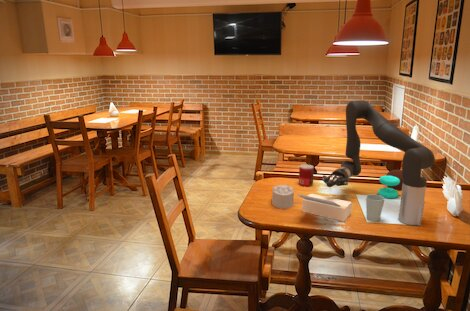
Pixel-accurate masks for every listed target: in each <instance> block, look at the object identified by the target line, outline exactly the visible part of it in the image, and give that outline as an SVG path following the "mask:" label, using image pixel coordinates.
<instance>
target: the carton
mask: <svg viewBox="0 0 470 311" xmlns="http://www.w3.org/2000/svg"><path fill="white" fill-rule="evenodd" d="M307 196H309V197H314V198H319V199H323V200H328V201H333V202H335V203H336V204H338V205H340V207H337V206H333V205H328V204H324V203H319V202H315V201H310V200H306V199H304V198H302V201H301V202H302V204H301V206H302V208H301V212H302V213H303V212H304V213H306V214H311V215H316V216H320V217H324V218H329V219H332V220H336V221H341V222H345V221H346V220H347V218H349V216H351V213H352V202H351V201H347V200H343V199H338V198H333V197H329V196H326V195H325V196H324V195H319V194H315V193H309V194H308V195H307Z"/></svg>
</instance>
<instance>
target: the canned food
mask: <svg viewBox="0 0 470 311" xmlns="http://www.w3.org/2000/svg"><path fill="white" fill-rule="evenodd" d="M314 168H315V167H314V165H311V164H300V165H299V170H298V171H299V172H298V184H299V186H301V187H304V186H305V187H306V188H307V187H308V188H309V187H312V186H313V183H314V170H315V169H314Z"/></svg>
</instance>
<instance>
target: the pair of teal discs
mask: <svg viewBox="0 0 470 311" xmlns="http://www.w3.org/2000/svg"><path fill="white" fill-rule="evenodd" d="M378 181H379V182H380V184H382V185H384V186H396V185H398V184H399V183H400V180H399V178H397V177H394V176H386V175H381V176H380V177H379V178H378ZM377 195H380V196H382V197H384V198H386V199H395V198H396V199H397V197H399V191H398V190H395V189H392V188H388V187H381V188H379V189H378V191H377Z"/></svg>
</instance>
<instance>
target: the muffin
mask: <svg viewBox="0 0 470 311" xmlns="http://www.w3.org/2000/svg"><path fill="white" fill-rule="evenodd" d="M385 176H394V177H397V178H399V180H400V183H399V184H398V185H396V186H387V185H386V186H387V187H386V188H392V189H395V190H396V191H402V185H403V178H402V169H392V170H389V171H388V172H387V173H386V174H385Z"/></svg>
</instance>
